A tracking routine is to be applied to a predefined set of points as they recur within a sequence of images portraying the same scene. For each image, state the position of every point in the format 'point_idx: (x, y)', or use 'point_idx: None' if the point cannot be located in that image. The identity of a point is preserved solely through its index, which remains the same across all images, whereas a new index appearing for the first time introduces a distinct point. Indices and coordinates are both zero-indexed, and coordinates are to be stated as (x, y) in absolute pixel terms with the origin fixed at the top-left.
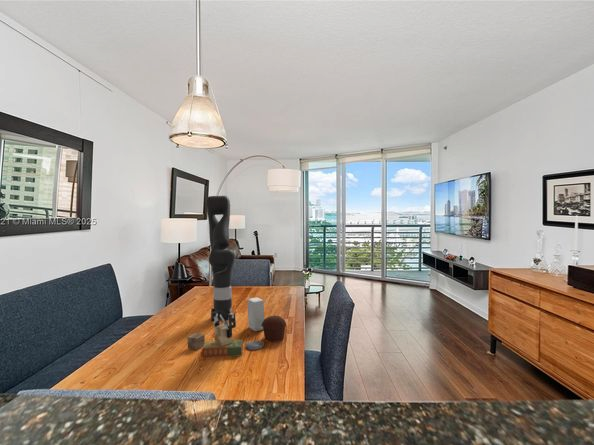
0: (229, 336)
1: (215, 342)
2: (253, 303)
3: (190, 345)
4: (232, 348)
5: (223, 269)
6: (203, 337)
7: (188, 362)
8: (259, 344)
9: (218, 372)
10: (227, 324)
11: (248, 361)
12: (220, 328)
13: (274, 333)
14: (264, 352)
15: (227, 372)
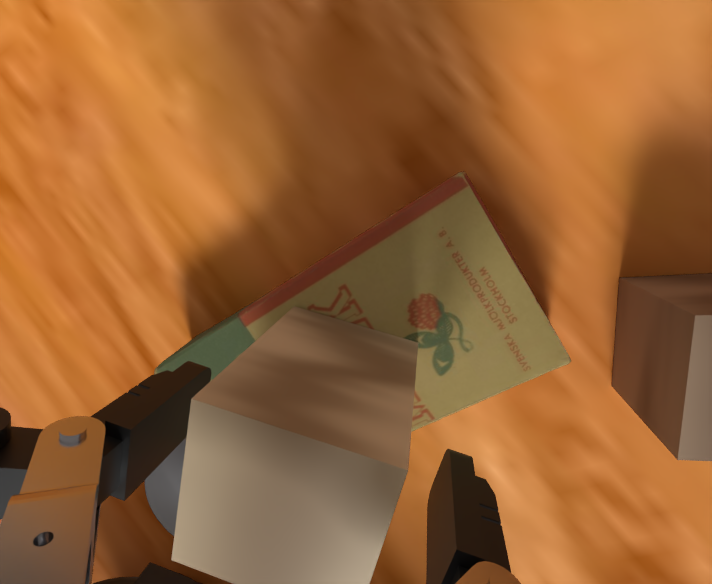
0: (158, 375)
1: (406, 343)
2: None
3: None
4: (211, 330)
5: None
6: (661, 422)
7: (517, 20)
8: (176, 508)
9: (138, 23)
10: (25, 491)
11: (90, 279)
12: (247, 432)
13: None
14: None
15: (86, 63)
